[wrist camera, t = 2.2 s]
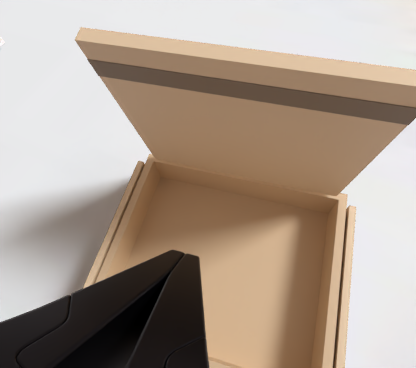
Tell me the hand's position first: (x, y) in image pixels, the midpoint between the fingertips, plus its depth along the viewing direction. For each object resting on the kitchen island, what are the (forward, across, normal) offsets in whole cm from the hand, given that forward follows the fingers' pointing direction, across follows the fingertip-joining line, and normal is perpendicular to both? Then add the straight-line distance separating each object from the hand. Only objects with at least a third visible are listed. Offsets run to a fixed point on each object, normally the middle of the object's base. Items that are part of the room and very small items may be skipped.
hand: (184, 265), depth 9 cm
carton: (+11, 0, +7) cm, 13 cm away
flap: (+12, 0, +1) cm, 13 cm away
